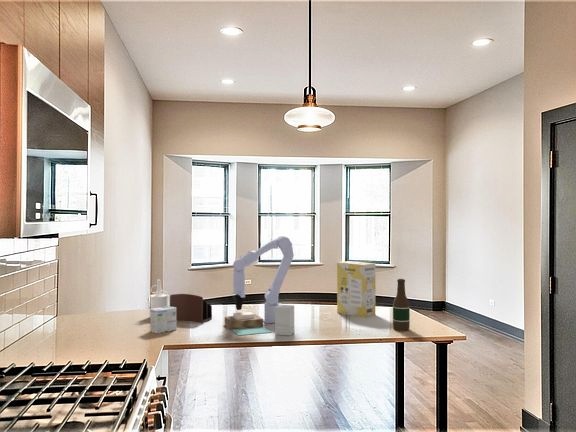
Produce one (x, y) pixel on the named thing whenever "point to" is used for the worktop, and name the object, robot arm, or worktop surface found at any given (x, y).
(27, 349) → the worktop surface
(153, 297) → the white necked piece
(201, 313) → the letter holder
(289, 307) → the supplement box
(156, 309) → the light bulb box
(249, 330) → the mat
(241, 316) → the cream white block
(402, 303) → the beer bottle
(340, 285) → the pasta box
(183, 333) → the worktop surface
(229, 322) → the board
